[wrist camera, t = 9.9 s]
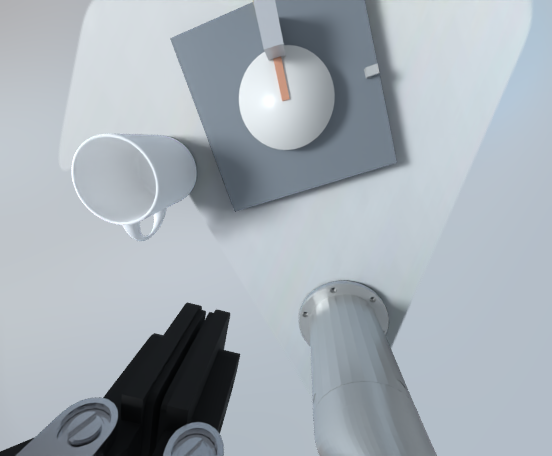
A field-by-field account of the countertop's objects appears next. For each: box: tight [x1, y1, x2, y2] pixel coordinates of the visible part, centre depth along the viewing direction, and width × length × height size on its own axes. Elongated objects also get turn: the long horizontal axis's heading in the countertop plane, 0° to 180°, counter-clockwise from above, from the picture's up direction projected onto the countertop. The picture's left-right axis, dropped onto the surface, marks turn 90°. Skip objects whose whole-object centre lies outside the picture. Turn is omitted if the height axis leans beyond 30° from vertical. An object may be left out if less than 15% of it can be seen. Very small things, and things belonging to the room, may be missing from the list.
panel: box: [170, 0, 397, 212], centre depth 31 cm, size 20×20×3 cm
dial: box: [239, 0, 335, 150], centre depth 28 cm, size 13×10×5 cm
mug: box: [71, 134, 197, 241], centre depth 32 cm, size 9×12×11 cm
